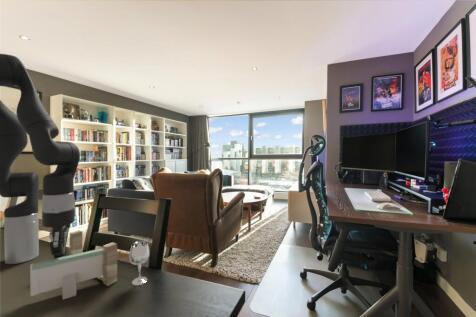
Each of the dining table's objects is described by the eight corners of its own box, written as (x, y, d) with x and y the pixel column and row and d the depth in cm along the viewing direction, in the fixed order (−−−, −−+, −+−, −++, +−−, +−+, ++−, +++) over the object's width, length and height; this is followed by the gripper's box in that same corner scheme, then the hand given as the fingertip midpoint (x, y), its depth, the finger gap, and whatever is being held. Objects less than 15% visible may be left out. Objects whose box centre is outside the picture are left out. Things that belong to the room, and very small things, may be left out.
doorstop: (76, 290, 63) (76, 273, 63) (76, 295, 61) (75, 278, 61) (63, 293, 62) (63, 276, 61) (62, 299, 59) (62, 281, 59)
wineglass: (141, 287, 65) (141, 248, 64) (125, 285, 66) (125, 247, 65) (153, 277, 70) (153, 241, 70) (137, 275, 71) (137, 239, 71)
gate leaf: (108, 272, 70) (108, 246, 70) (109, 274, 68) (109, 248, 68) (31, 293, 59) (31, 263, 59) (30, 297, 57) (30, 266, 57)
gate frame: (69, 265, 77) (69, 232, 77) (79, 262, 80) (79, 230, 79) (107, 286, 65) (107, 247, 65) (117, 280, 68) (117, 243, 68)
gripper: (46, 204, 67) (47, 258, 68) (36, 215, 56) (37, 280, 57) (76, 202, 71) (76, 252, 72) (72, 211, 60) (72, 272, 61)
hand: (59, 264), depth 64 cm, fingers closed
